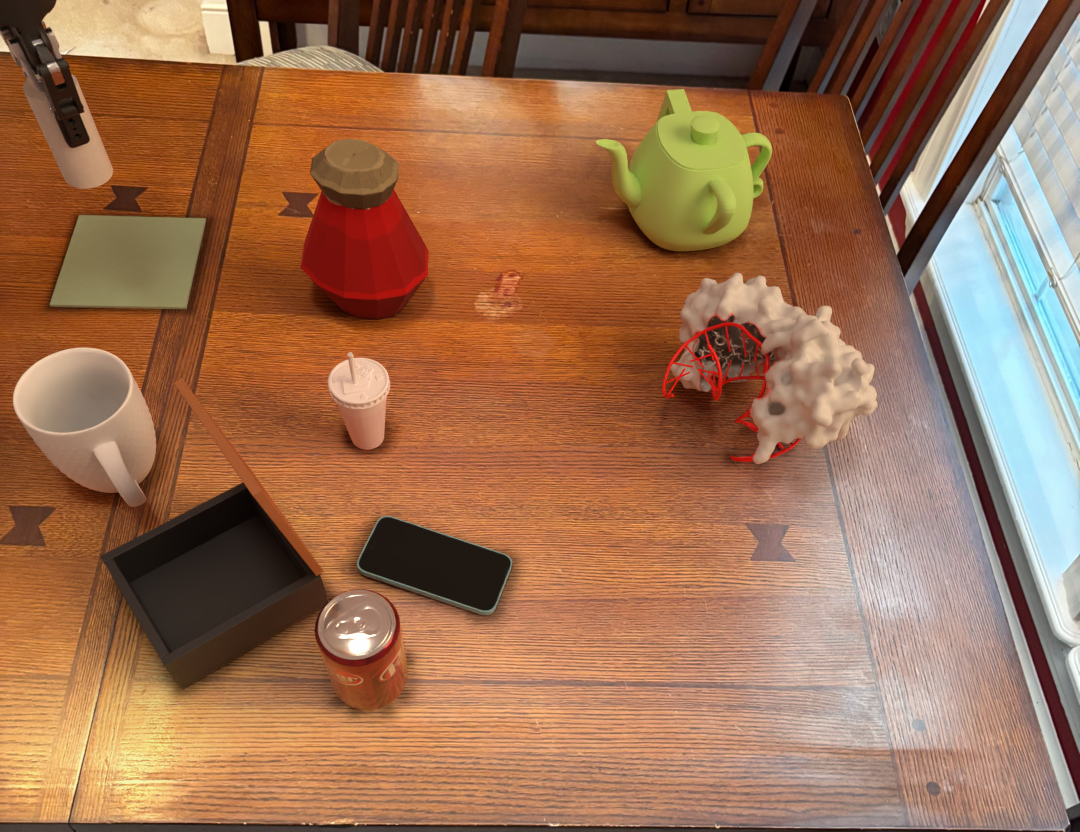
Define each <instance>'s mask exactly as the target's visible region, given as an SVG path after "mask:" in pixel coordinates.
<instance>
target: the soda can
mask: <svg viewBox="0 0 1080 832" xmlns="http://www.w3.org/2000/svg"><path fill="white" fill-rule="evenodd" d="M314 637H315V642H316V644H317V647H318V650H319V652H320V655H321V658H322V660H323V664H324V665H325V666H324V667H325V669H326V671H327V675H328V677H329V680H330V683H331V686H332V689H333V691H334V692H335V694H336V696H337V697H338V699H340V700H341V702H343V703H344V704H345V705H347V706H349V707H350V708H353V709H357V710H361V711H373V710H374V711H375V710H379V709H381V708H384V707H386V706H388V705H390V704H391V703H393V702H394V701H395V700H397V698H398V697H399V696H400V695H401V693H402V692H403V691H404V688H405V687H406V684H407V681H408V673H409V669H408V663H407V656H406V651H405V650H406V649H405V644H404V643H405V642H404V640H403V639H404V637H403V632H402V626H401V619H400V615H399V612H398V610H397V608H396V606H395V605H394V603H392V601H391V600H389V598H388V597H386V596H384V595H383V594H381V593H379V592H377V591H374V590H370V589H365V588H364V589H363V588H362V589H361V588H360V589H359V588H355V589H349V590H345V591H343V592H341V593H339V594H337V595H335V596H333V597H331V598H330V599H328V602H327V603H326V604H325V605H324V607H323V608H321V609H320V611H319V613H318V615H317V617H316V620H315V624H314Z"/></svg>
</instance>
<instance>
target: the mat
mask: <svg viewBox="0 0 1080 832" xmlns="http://www.w3.org/2000/svg"><path fill="white" fill-rule="evenodd" d="M206 224H207V218H206V217H175V216H174V217H171V216H135V215H103V214H102V215H100V214H98V215H97V214H79V215H78V216H77V220H76V223H75V227H74V229H73V232H72V235H71V238H70V241H69V243H68V247H67V250H66V253H65V256H64V259H63V263H62V265H61V268H60V272H59V274H58V277H57V280H56V283H55V287H54V289H53V293H52V296H51V298H50V301H49V304H48V305H49V307H50V308H81V309H85V308H87V309H132V310H133V309H136V310H139V309H141V310H181V311H183V310H184V311H185V310H187V309H188V304H189V300H190V296H191V291H192V287H193V282H194V278H195V273H196V269H197V264H198V260H199V255H200V250H201V246H202V242H203V237H204V233H205V230H206V229H205V228H206Z"/></svg>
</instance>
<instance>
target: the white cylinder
mask: <svg viewBox="0 0 1080 832" xmlns="http://www.w3.org/2000/svg"><path fill="white" fill-rule="evenodd" d="M71 75H72V78H73V81H74V83H75V86H76V89H77V92H78V95H79V97H80V100H81V103H82V104H83V106H84V108H83V109H84V113H81V114H80V116H81V118H82V121H83V123H84V126H85V128H86V130H87V133H88V135H89V138H90V141H89V142H88V143H87V144H84V145H81V146H78V147H76V148H70V147H69V146H68V145H67V143H66V142H65V140H64V137H63V135H62V133H61V131H60V128H59V126H58V124H57V122H56V119H55V117H54V115H53V113H51V112H50V110H49V106H48V104H47V102H46V100H45V98H44V96H43V94H42V92H40V91H38V90H36V89H35V88H34V87H33V86H32V84H31V82H30V80H29V78H28V79H27V78H26V80H25V81H24V83H23V86H22V90H23V93H24V96H25V97H26V100H27V102H28V105H29V106H30V108H31V111H32V112H33V115H34V117H35V119H36V121H37V123H38V126H39V128H40V130H41V132H42V135H43V136H44V138H45V141H46V143H47V145H48V147H49V150H50V151H51V154H52V156H53V158H54V160H55V162H56V164H57V166H58V169H59V171H60V173H61V175H62V178H63V180H64V181H65V183H66V184H67V185H69V186H70V187H72V188H76V189H82V190H88V189H94V188H97V187H100V186H103V185H104V184H106V183H107V182H109V180H110V179H111V178H112V177H113V174H114V168H113V165H112V162H111V160H110V158H109V155H108V152H107V150H106V147H105V145H104V143H103V140H102V138H101V135H100V132H99V131H98V128H97V125H96V123H95V121H94V118H93V116H92V113H91V110H90V107H89V106H88V102H87V101H86V98H85V96H84V93H83V91H82V88H81V86H80V83H79V80H78V78H77V77H76V76H75V74H73V73H71ZM35 76H36V78H37V79H41V78H40V76H39V75H38V74H37V75H35Z"/></svg>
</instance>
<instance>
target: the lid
mask: <svg viewBox="0 0 1080 832" xmlns="http://www.w3.org/2000/svg"><path fill="white" fill-rule="evenodd" d="M173 385H174V386H175V387H176V389H177V390H178V392H179V393H180V395H181V397H183V399H184V400H185V402H186V403H187V405H188V406H189V407H190V409H191V410H192V412H193V413H194V415H195V416H196V417H197V419H198V421H200V423H201V425H202V426H203V428H204V429H205V430H206V432H207V433H208V434H209V436H210V437H211V439H212V440H213V441H214V443H215V444H216V446H217V447H218V449H219V450H220V452H221V453H222V454H223V456H224V458H225V459H226V460H227V462H228V463H229V464H230V466H231V467H232V468H233V470H234V472H235V473H236V474H237V476H238V477H239V479H240V480H241V481H242V483H244V484H245V486H246V487H247V488H248V490H249V491H250V493H251V494H252V496H253V497H254V498H255V499H256V501H257V502H258V503H259V504H260V506H261V507H262V508H263V509H264V511H265V512H266V513H267V515H268V516H269V517H270V518H271V520H272V521H273V522H274V523H275V525H276V526H277V527H278V528H279V530H280V531H281V532H282V533H283V535H284V536H285V537H286V538H287V540H288V541H289V542H290V543H291V545H292V546H293V547H294V549H295V550H296V551H297V552H298V554H299V555H300V556H301V557H302V559H303V560H304V561H305V562H306V564H307V565H308V566H309V567H310V569H311V570H312V571H313V572H314V574H315V575H316V576H318V575H319V574H320V575H321V574H322V573H323V572H324V570H323V569H322V567H321V565H320V564H319V563H318V562H317V560H316V559H315V557H314V556H313V554H312V553H311V552H310V550H309V549H308V547H307V546H306V545H305V543H304V542H303V540H302V539H301V537H300V536H299V535H298V533H297V532H296V530H295V529H294V528H293V526H292V525H291V524H290V522H289V521H288V520H287V518H286V516H285V515H284V514H283V512H282V511H281V510H280V508H279V506H278V505H277V503H276V502H275V501H274V500H273V498H272V497H271V495H270V494H269V492H268V491H267V490H266V488H265V487H264V485H263V484H262V483H261V482H260V479H258V477H257V476H256V474H255V473H254V471H253V470H252V469H251V468H250V466H249V465H248V464H247V462H246V461H245V460H244V459H243V457H242V456H241V454H240V453H239V452H238V451H237V449H236V448H235V446H234V445H233V444H232V442H231V441H230V440H229V439H228V437H227V435H226V434H225V433H224V432H223V430H222V429H221V428H220V426H219V425H218V424H217V423H216V421H215V420H214V418H213V417H212V416H211V414H210V413H209V412H208V411H207V409H206V408H205V407H204V405H203V404H202V402H201V401H200V400H199V398H197V396H196V395H195V394H194V392H193V391H192V390H191V388H190V387H189V385H188V384H187V382H186V381H185V380H184V379H183V378H182V377H180V378H178V379H177V380H175V381H174V382H173Z"/></svg>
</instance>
